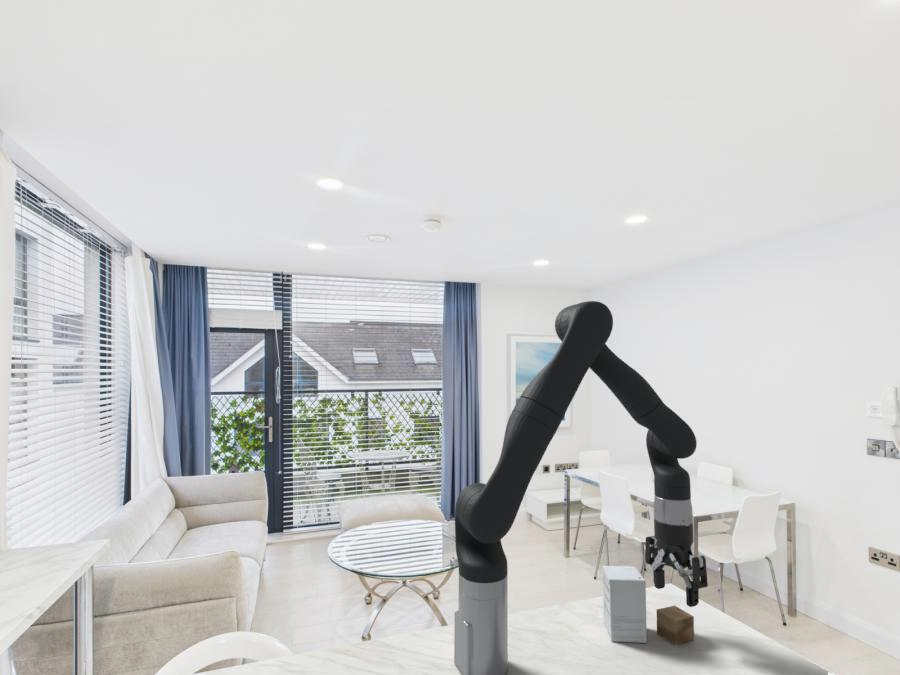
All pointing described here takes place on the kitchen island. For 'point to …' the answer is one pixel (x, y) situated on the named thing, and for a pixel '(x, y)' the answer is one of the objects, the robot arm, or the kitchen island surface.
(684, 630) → the walnut cube
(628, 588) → the supplement box
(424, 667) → the kitchen island surface
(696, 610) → the kitchen island surface
